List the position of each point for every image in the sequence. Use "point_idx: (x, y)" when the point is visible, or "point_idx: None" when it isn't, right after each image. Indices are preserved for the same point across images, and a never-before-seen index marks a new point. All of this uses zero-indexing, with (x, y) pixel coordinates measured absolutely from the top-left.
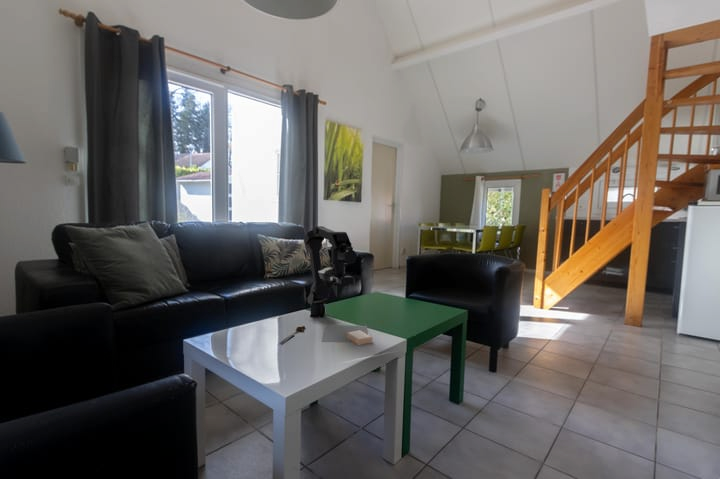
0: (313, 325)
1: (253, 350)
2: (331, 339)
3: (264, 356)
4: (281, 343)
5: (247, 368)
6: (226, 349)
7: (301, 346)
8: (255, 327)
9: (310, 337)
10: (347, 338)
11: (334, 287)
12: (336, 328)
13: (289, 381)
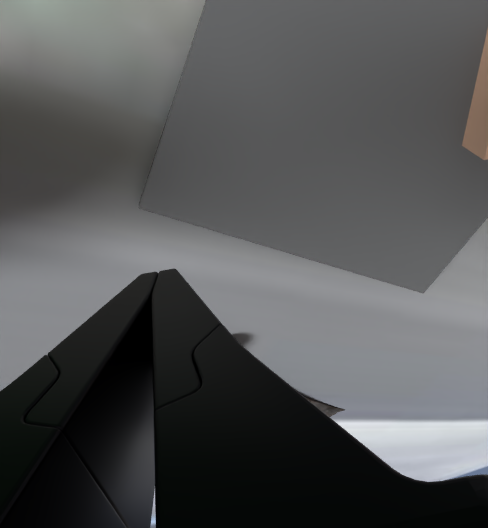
0: (97, 271)
1: None
2: (429, 242)
3: (407, 445)
4: (326, 412)
5: (455, 468)
6: None
7: (399, 360)
8: None
9: (313, 317)
10: None
11: (143, 499)
12: (252, 153)
13: None
